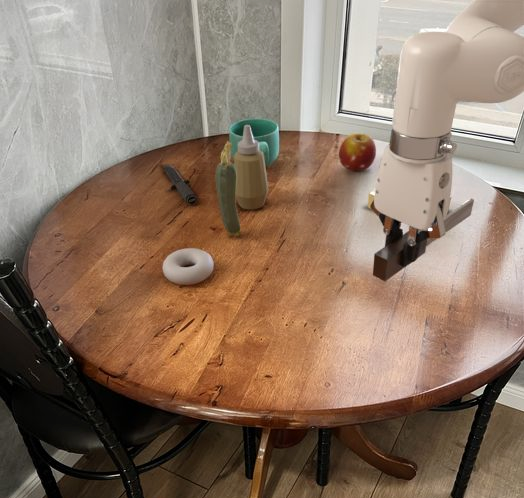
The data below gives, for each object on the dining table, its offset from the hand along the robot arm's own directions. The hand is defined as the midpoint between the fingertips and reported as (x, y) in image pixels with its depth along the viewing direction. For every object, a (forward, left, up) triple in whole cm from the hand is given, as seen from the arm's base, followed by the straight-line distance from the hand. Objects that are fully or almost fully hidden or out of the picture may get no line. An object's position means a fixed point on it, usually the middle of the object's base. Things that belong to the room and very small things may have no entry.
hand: (400, 258), depth 84 cm
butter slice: (+26, -30, -13) cm, 42 cm away
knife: (+70, -6, -14) cm, 72 cm away
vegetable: (+42, 0, -14) cm, 44 cm away
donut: (+37, +15, -14) cm, 42 cm away
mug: (+63, -26, -14) cm, 69 cm away
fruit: (+44, -43, -14) cm, 63 cm away
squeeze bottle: (+49, -12, -14) cm, 52 cm away
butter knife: (0, -7, -1) cm, 7 cm away
